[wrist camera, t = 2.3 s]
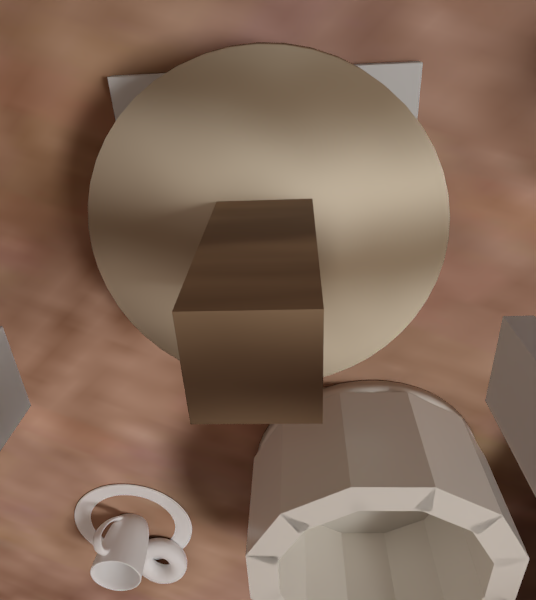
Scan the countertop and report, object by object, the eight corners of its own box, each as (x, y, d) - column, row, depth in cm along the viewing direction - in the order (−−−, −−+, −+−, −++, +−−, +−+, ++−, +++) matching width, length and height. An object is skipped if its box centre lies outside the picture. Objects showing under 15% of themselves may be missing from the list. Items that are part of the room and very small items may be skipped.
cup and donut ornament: (201, 561, 36) (191, 620, 33) (94, 560, 37) (73, 618, 33) (184, 477, 32) (170, 535, 28) (63, 478, 33) (35, 534, 29)
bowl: (250, 381, 27) (237, 486, 21) (494, 378, 26) (554, 487, 20) (262, 532, 34) (255, 646, 28) (459, 534, 33) (496, 652, 27)
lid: (75, 49, 19) (-133, 85, 10) (453, 30, 18) (624, 49, 9) (140, 351, 26) (54, 541, 17) (415, 348, 25) (487, 546, 16)
